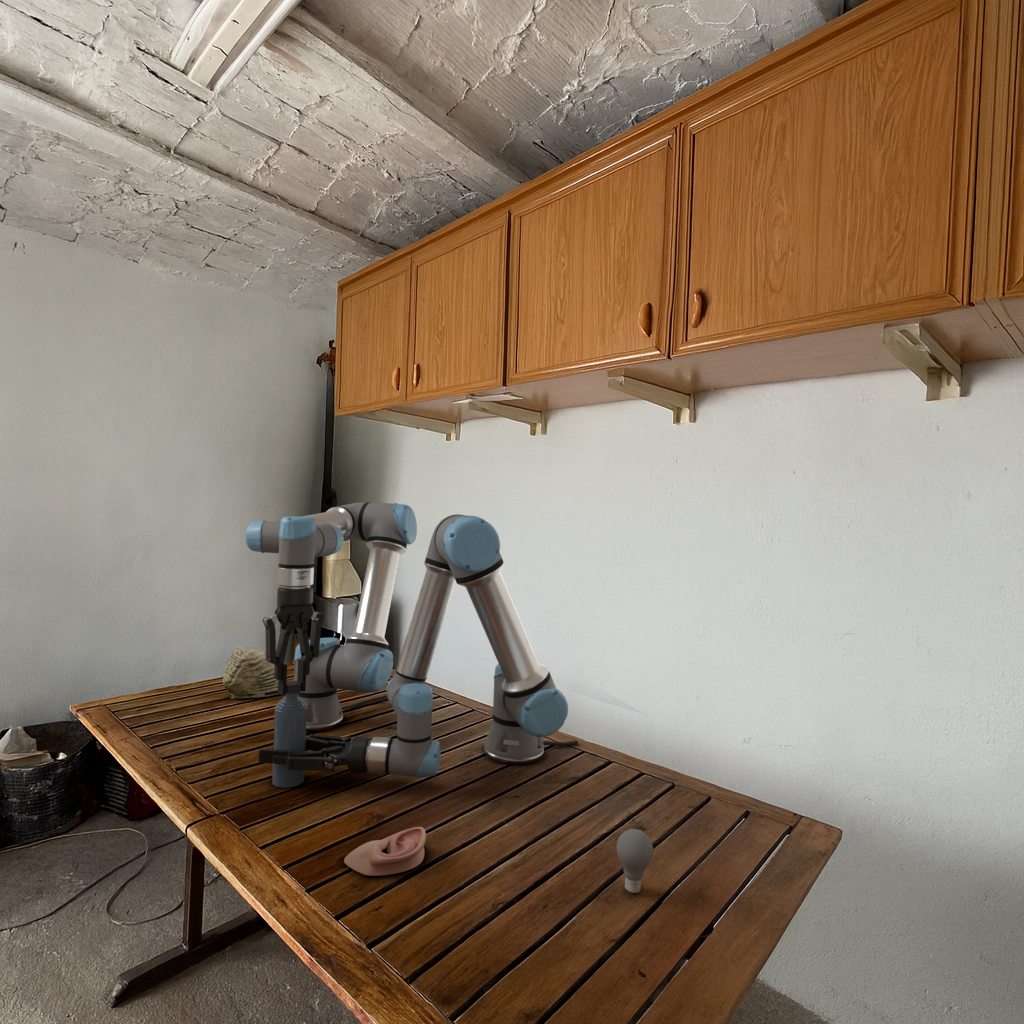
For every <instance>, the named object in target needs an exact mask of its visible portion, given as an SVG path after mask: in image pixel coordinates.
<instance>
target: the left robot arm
mask: <svg viewBox="0 0 1024 1024" xmlns="http://www.w3.org/2000/svg"><path fill="white" fill-rule="evenodd" d="M417 523H418V522H417V518H416V514H415V512H414V510H413V508H412V507H411V506H410V505H408V504H404V503H397V502H394V503H391V502H368V501H360V502H354V503H348V504H343V505H339V506H333V507H330V508H329V509H328V510H326V511H325V512H319V513H314V514H308V515H302V516H296V515H295V516H293V515H291V516H290V515H288V516H287V515H286V516H283V517H282V518H281V519H279V520H275V521H274V520H272V521H267V520H255V521H252V522H251V523H250V524H249V525H248V526H247V528H246V531H245V543H246V546H247V548H248V549H249V550H251V551H252V552H257V553H261V554H265V553H268V554H269V553H270V554H278V567H277V585H278V586H279V587H278V588H277V591H276V609H275V611H274V614H272V615H269V616H264V617H263V618H262V623H263V625H264V629H265V653H266V661H268V662H270V663H272V664H275V673H274V677H275V679H277V680H278V693H280V694H279V695H281V696H285V695H286V687H287V681H288V664H286V663H285V660H286V655H287V650H288V646H289V643H290V637H291V634H292V633H293V630H296V631H297V637H298V638H297V639H298V644H297V645H296V647H295V652H294V659H293V661H294V672H293V681H299V682H301V691H300V692H298V696H299V697H300V698H301V699H302V700H303V701H304V702H305V703H306V705H307V722H306V733H316V732H325V731H329V730H332V729H335V728H337V727H339V726H340V725H342V723H343V722H344V714H343V710H348V709H352V708H356V707H358V706H361V705H363V704H367V703H371V702H374V701H379V700H383V699H388V698H387V694H384V695H380V696H376V697H371V698H368V699H364V700H361V701H359V702H356V703H352V704H348V705H343V706H341V702H340V699H339V695H338V690H344V691H345V690H346V691H353V692H359V693H378V692H380V691H381V690H382V689H383V688H384V687H385V685H386V684H388V682H389V679H390V677H391V675H392V671H393V668H394V654H393V652H392V651H391V650H390V649H389V642H388V641H387V639H386V637H385V635H386V632H387V631H386V630H387V626H388V620H389V614H390V610H391V604H392V599H393V594H394V588H395V583H396V577H397V573H398V566H399V562H400V557H401V556H402V555H403V554H405V553H406V551H407V547H408V545H413V544H414V542H415V541H416V539H417V535H418V524H417ZM345 540H353V541H359V542H365V545H366V547H367V548H368V550H369V555H368V560H367V564H366V570H365V574H364V579H363V584H362V589H361V593H360V598H359V604H358V609H357V614H356V618H355V624H354V627H353V632H352V633H351V634H350V635H348V636H347V637H346V638H345V639H346V640H345V644H344V645H342V644H340V643H341V641H340V639H339V638H338V637H321V633H322V624H323V621H324V619H325V614H324V613H322V612H319V611H315V610H314V607H313V603H314V588H313V587H312V586H313V585H314V577H315V558H317V557H329V556H332V555H334V554H337V553H338V552H340V550H341V549H342V548H343V546H344V541H345ZM310 619H311V625H310V637H309V634H308V631H309V627H308V622H309V621H310ZM277 621H278V623H279V624H280V627H279V634H278V635H279V636H278V640H277V638H276V637H277V636H276V635H277V634H276V633H277V630H276V625H277ZM427 679H428V676H427V677H426V680H427ZM386 686H387V685H386Z"/></svg>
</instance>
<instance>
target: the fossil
mask: <svg viewBox="0 0 1024 1024" xmlns="http://www.w3.org/2000/svg"><path fill="white" fill-rule="evenodd" d="M274 673H275V664H272V663H270V662H268V661H266V651H265V650H264V649H263V648H260V647H258V648H251V647H247V646H246V647H245V646H238V647H237V648H236V649H235V650H233V651H232V653H231V656H230V657H229V659H228V660H227V663H226V666H225V668H224V671H223V675H222V676H223V677H222V685H223V687H224V688H225V690H226V691H228V693H229V698H230V699H250V698H264V697H271V696H275V695H281V694H280V693H278V680H277V679H275V677H274Z"/></svg>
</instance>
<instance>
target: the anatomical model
mask: <svg viewBox="0 0 1024 1024" xmlns="http://www.w3.org/2000/svg"><path fill="white" fill-rule="evenodd" d="M426 839H427V834H426V829H425V827H423V826H415V827H411V828H407V829H404V830H401V831H398V832H396V833H394V834H392V835H389V836H387V837H385V838H383V839H376V840H370V841H368V842H365V843H363V844H361V845H359V846H357V847H356V848H355V849H353V850H352V851H350V852H349V853H348V854H347V855H346V856H345V857H344V859H343V863H344V865H346V866H347V867H348V868H350V869H352V870H353V871H355V872H356V873H359V874H361V875H364V876H369V877H377V876H389V875H394V874H395V875H396V874H399V873H403V872H407V871H409V870H412V869H414V868H416V867H418V866H419V865H421V863H422V862H423V860H424V859H425V848H424V846H425V844H426Z"/></svg>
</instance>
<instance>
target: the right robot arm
mask: <svg viewBox="0 0 1024 1024" xmlns="http://www.w3.org/2000/svg"><path fill="white" fill-rule="evenodd" d="M500 550H501V539H500V537H499V533H498V532H497V530H496V528H495V527H494V526H493V525H492V524H491V523H490V522H488V521H487V520H486V519H484V518H482V517H479V516H476V515H465V514H450V515H448V516H446V517H444V518H442V519H441V520H440V522H438V523H437V524H436V526H435V527H434V530H433V532H432V535H431V538H430V542H429V545H428V549H427V552H426V556H425V560H424V562H423V564H424V566H425V568H426V570H425V574H424V577H423V580H422V584H421V587H420V590H419V594H418V597H417V600H416V604H415V607H414V610H413V613H412V616H411V620H410V623H409V627H408V629H407V633H406V637H405V639H404V643H403V646H402V649H401V653H400V656H399V658H398V659H399V660H398V662H397V666H396V669H395V672H394V675H393V677H392V678H391V679H390V680H388V682H387V685H386V695H387V698H386V699H387V701H388V702H389V704H390V706H391V707H392V710H393V711H394V714H395V716H396V719H397V721H396V738H394V737H380V736H374V737H373V738H371V736H361V735H360V736H359V735H357V736H353V738H352V736H337V735H327V734H318V733H311V734H309V736H306V749H305V752H296V753H291V750H288V751H287V750H273V749H271V748H270V749H269V748H268V749H267V748H260V749H259V750H258V763H259V764H272V765H273V764H287V769H288V770H305V771H323V772H328V773H332V772H335V768H336V767H339V766H347V769H348V771H349V773H353V774H366V773H367V772H368V773H369V774H371V775H373V774H375V775H379V776H380V777H381V776H382V777H383V776H384V775H390V776H391V775H392V776H402V777H403V776H405V777H415V778H429V777H435V776H436V775H437V774H438V771H439V768H440V762H441V755H442V754H441V743H440V741H438V740H435V739H432V723H433V706H434V699H433V698H434V697H433V689H432V687H431V686H430V685H428V684H426V681H427V679H426V677H427V678H428V674H429V671H430V667H431V664H432V660H433V657H434V655H435V650H436V647H437V644H438V641H439V638H440V634H441V631H442V628H443V624H444V622H445V619H446V615H447V611H448V609H449V606H450V601H451V598H452V595H453V593H454V589H455V585H456V584H457V585H458V586H462V587H464V588H465V589H466V591H467V593H468V596H469V598H470V601H471V603H472V605H473V607H474V609H475V612H476V614H477V616H478V619H479V621H480V624H481V626H482V628H483V630H484V634H485V635H486V638H487V640H488V642H489V645H490V648H491V649H492V651H493V654H494V656H495V659H496V661H497V663H498V664H497V665H495V669H494V675H493V701H492V702H493V703H492V720H491V721H492V722H491V724H490V727H489V730H488V732H487V735H486V738H485V740H484V741H485V742H484V745H483V752H484V755H485V756H486V757H487V758H489V759H490V760H492V761H494V762H498V763H502V764H507V765H527V764H531V763H535V762H537V761H540V760H542V759H543V757H544V754H545V746H555V747H570V746H576V745H578V744H579V741H578V740H570V741H549V740H543V738H547V737H551V736H552V735H554V734H556V733H557V732H558V731H559V730H560V729H562V728H563V726H564V724H565V723H566V720H567V718H568V714H569V703H568V699H567V698H566V696H565V695H564V694H563V692H562V691H561V690H560V689H558V688H557V687H556V684H555V682H554V679H553V677H552V675H551V672H550V670H549V668H548V666H547V665H545V664H543V663H539V661H538V657H537V656H536V653H535V651H534V648H533V646H532V644H531V642H530V639H529V636H528V634H527V632H526V629H525V627H524V624H523V621H522V620H521V618H520V614H519V612H518V610H517V608H516V605H515V602H514V601H513V598H512V596H511V593H510V591H509V589H508V586H507V584H506V581H505V578H504V576H503V574H502V570H503V568H504V566H505V562H504V559H503V557H502V555H501V552H500Z"/></svg>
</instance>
